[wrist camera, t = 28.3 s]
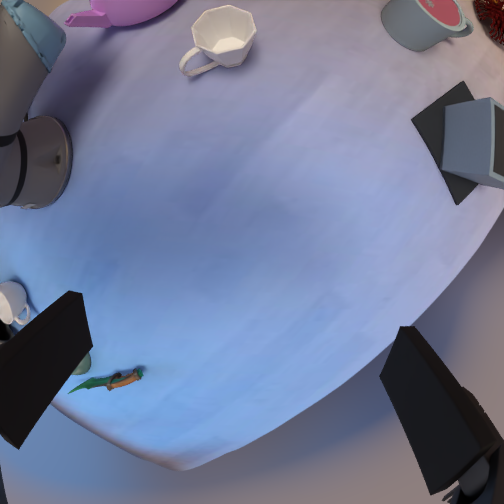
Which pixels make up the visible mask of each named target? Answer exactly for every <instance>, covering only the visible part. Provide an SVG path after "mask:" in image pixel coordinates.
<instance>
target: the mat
mask: <svg viewBox="0 0 504 504" xmlns="http://www.w3.org/2000/svg"><path fill="white" fill-rule="evenodd" d="M473 100H475V99H474V98H473V96H472V94H471V92H470V91H469V89H468V87H467V85H466V84H465V82H464V81H462V82H460V83H459V84H458V85H456V86H455V87H454V88H452V89H451V90H450V91H448V92H447V93H446V94H444V95H443V96H442V97H440V98H439V99H438V100H436V101H435V102H434V103H432V104H431V105H430V106H428V107H427V108H426V109H424V110H423V111H422V112H420V113H419V114H418V115H416V116H415V117H414V118H412V119H411V120H412V122H413V124H414V125H415V127H416V128H417V130H418V132H419V133H420V135H421V137H422V138H423V140H424V142H425V143H426V145H427V147H428V149H429V151H430V152H431V154H432V156H433V158H434V160H435V162H436V164H437V165H438V167H439V169H440V162H441V150H442V134H443V107H444V106H449V105H453V104H458V103H463V102H468V101H473ZM440 171H441V173H442V175H443V177H444V180H445V182H446V184H447V186H448V188H449V190H450V192H451V195H452V197H453V199H454V202H455V204H456V205H459V204H460V203H461V202H462V201H463V200H464V199H465V198H466V197H467V196H468V195H469V194H470V193H471V192H472V191H473V190H474V188H475V187H476V186H477V185H478V183H475V182H473V181H470V180H468V179H465V178H462V177H460V176H457V175H454V174H451V173H448V172H445V171H442V170H440Z"/></svg>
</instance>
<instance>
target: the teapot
mask: <svg viewBox="0 0 504 504" xmlns="http://www.w3.org/2000/svg"><path fill="white" fill-rule="evenodd" d="M89 1H90V5H91V8H92V10H89V11H84V12H80V13H75V14H73V13H72V14H71V15H70V16H69V18H68V19H67V20H66V21H65V22H64V24H65V25H67V26H69V27H101V28H109V27H110V26H111V25H113V26H129V25H134V24H138V23H141V22H144V21H147V20H149V19H151V18H154V17H156V16H158V15H159V14H161V13H163V12H164V11H166V10H167V9H169V8H170V7H171V6H172V5H174V4H175V3H176V2H177V1H178V0H89Z"/></svg>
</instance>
